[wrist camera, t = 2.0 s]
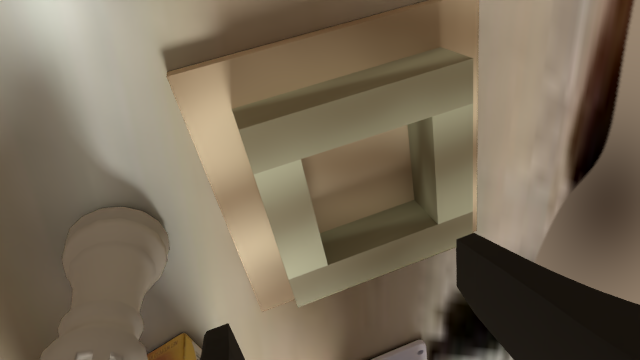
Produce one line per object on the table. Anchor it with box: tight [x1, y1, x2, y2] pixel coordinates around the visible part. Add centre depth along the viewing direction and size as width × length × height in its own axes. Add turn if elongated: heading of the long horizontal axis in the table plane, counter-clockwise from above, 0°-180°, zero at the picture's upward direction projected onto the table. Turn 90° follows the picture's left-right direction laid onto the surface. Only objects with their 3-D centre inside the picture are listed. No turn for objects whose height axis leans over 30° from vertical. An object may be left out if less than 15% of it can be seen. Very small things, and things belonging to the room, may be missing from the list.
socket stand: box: [167, 0, 479, 312], centre depth 20 cm, size 14×14×3 cm
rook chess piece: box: [40, 207, 170, 360], centre depth 16 cm, size 4×4×8 cm
